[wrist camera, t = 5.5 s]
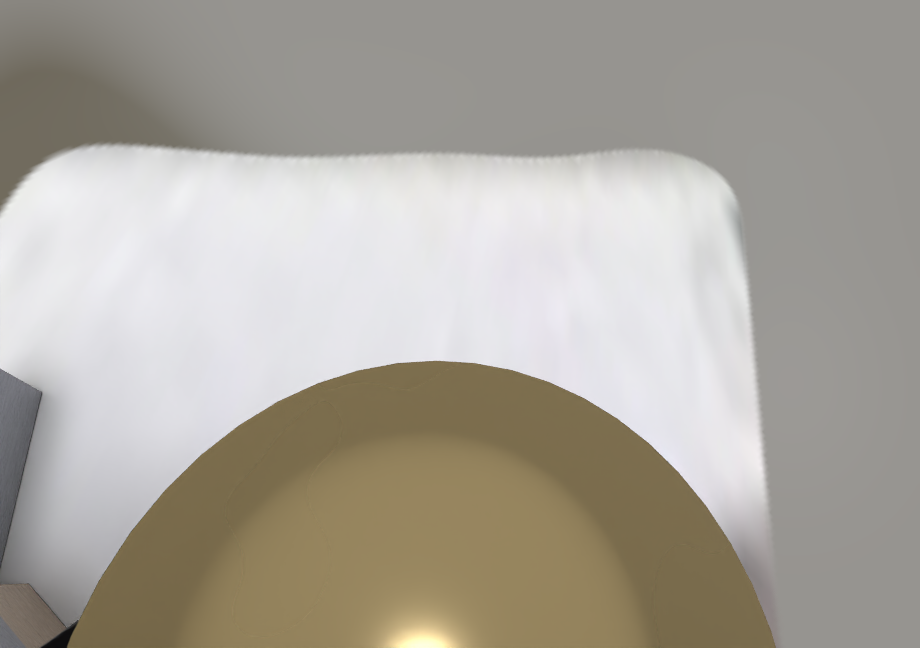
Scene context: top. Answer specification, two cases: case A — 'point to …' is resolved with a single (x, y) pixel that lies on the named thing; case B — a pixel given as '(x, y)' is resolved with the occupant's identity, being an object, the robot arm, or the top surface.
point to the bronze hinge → (3, 458)
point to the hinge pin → (427, 529)
